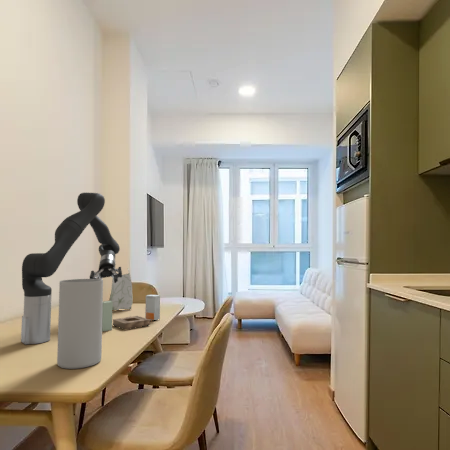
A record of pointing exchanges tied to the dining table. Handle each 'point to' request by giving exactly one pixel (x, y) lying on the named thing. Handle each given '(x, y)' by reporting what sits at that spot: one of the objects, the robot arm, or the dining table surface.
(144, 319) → the well block
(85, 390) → the dining table surface
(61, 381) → the dining table surface
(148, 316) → the skincare box
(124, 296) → the grocery bag
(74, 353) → the cylinder vase
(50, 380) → the dining table surface
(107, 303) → the green post
